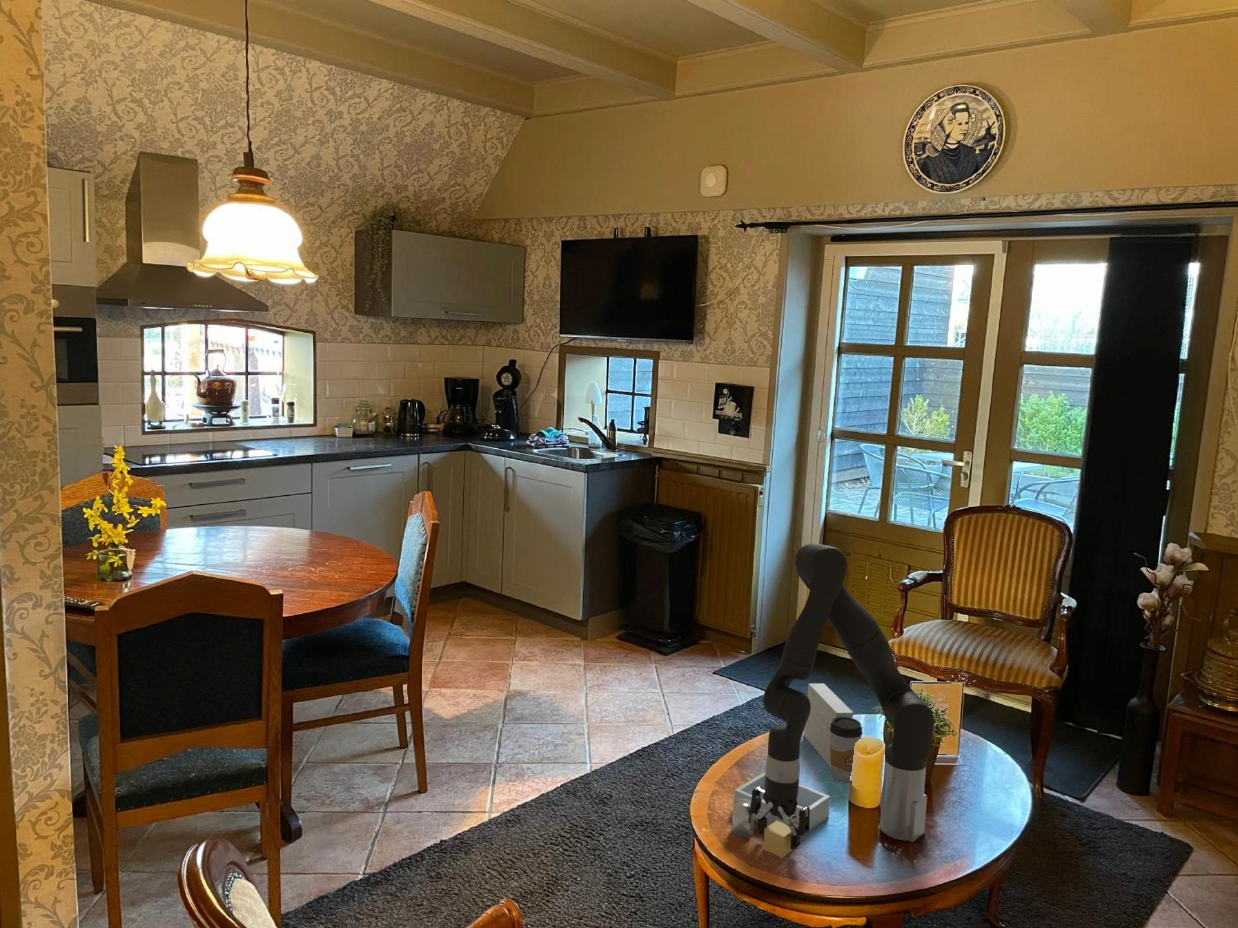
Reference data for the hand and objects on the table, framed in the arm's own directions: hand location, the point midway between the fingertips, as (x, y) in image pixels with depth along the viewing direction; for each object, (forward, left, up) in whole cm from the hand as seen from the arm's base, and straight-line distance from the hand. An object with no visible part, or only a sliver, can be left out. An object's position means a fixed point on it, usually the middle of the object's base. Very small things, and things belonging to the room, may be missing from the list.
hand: (777, 840), depth 210 cm
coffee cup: (+7, -41, -2) cm, 42 cm away
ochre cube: (0, 0, -2) cm, 2 cm away
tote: (+8, -13, -2) cm, 15 cm away
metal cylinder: (+10, 0, -2) cm, 10 cm away
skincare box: (+18, -51, -2) cm, 54 cm away
